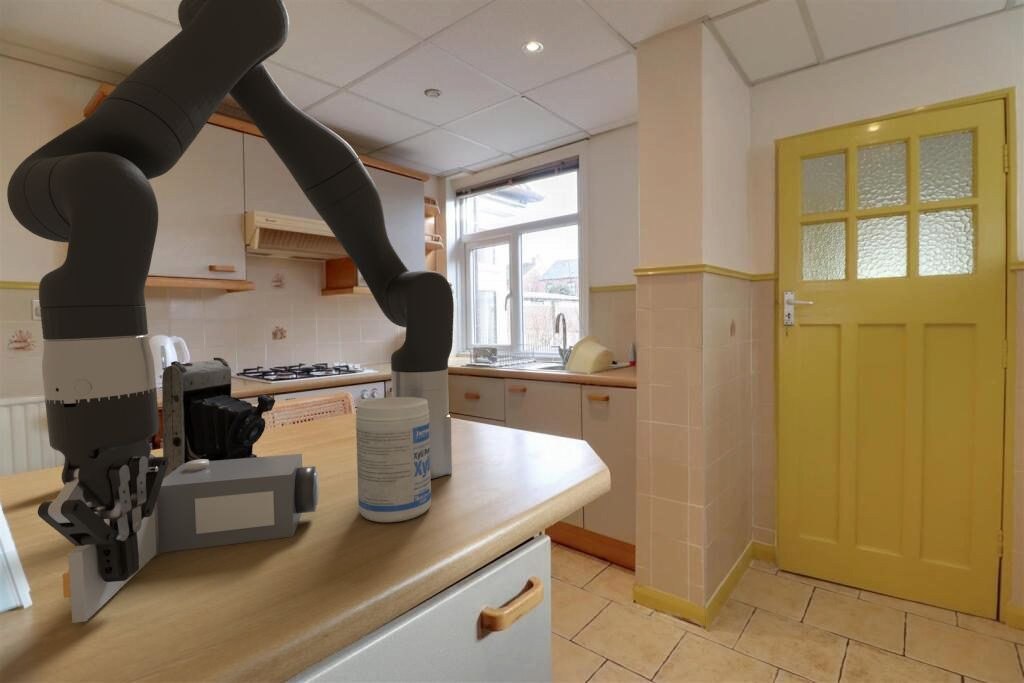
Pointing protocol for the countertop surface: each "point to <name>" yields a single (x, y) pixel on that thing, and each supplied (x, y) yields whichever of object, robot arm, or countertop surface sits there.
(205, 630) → the countertop surface
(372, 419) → the supplement tub
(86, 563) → the side door
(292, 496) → the camera housing
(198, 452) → the vintage camera
